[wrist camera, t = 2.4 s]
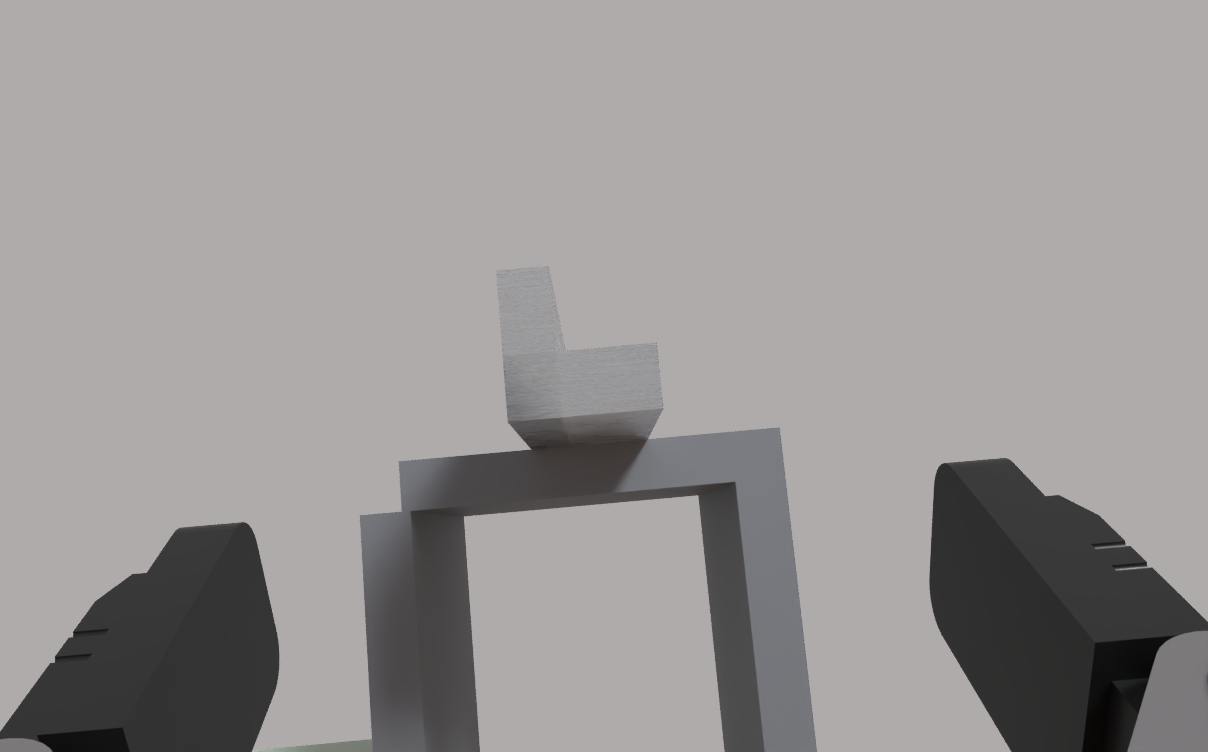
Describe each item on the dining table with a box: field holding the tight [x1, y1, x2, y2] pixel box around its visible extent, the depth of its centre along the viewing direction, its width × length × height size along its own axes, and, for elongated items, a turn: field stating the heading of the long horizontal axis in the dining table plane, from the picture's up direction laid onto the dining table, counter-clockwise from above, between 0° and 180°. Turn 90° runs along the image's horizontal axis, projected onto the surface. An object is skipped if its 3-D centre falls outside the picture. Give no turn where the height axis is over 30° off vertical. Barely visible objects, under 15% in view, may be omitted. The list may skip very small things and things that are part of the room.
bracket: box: [496, 266, 663, 450], centre depth 33 cm, size 4×20×4 cm, turn 0°
